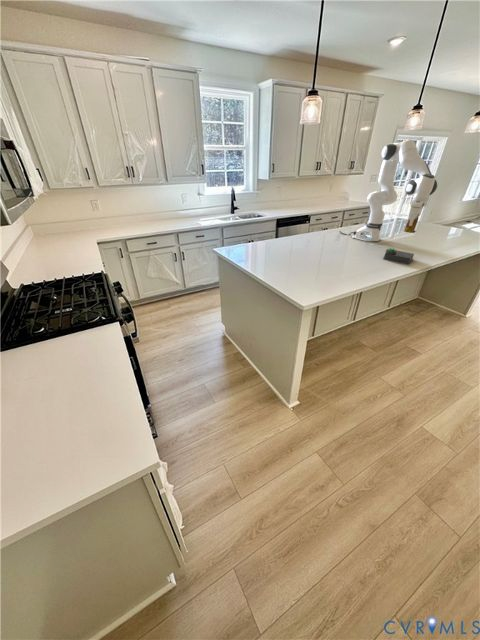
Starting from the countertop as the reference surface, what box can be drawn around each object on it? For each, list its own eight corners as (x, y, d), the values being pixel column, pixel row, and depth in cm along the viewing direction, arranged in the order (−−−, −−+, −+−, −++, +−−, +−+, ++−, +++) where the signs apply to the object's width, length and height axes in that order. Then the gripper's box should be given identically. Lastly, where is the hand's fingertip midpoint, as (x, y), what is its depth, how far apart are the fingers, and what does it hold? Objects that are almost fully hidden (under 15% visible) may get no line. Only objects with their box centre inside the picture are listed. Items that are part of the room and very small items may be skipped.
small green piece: (387, 251, 184) (388, 248, 183) (389, 249, 186) (389, 247, 185) (393, 252, 182) (393, 249, 181) (394, 251, 184) (395, 248, 183)
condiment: (401, 231, 178) (408, 213, 172) (404, 229, 183) (410, 211, 177) (413, 233, 174) (420, 214, 168) (416, 231, 180) (423, 212, 173)
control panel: (382, 258, 187) (385, 250, 184) (387, 254, 195) (390, 246, 192) (408, 264, 178) (411, 256, 174) (412, 259, 186) (415, 251, 183)
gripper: (417, 200, 176) (409, 221, 184) (410, 204, 163) (402, 226, 171) (427, 201, 173) (420, 222, 180) (421, 205, 160) (413, 227, 167)
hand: (411, 224), depth 176 cm, fingers closed on condiment, 6 cm apart
